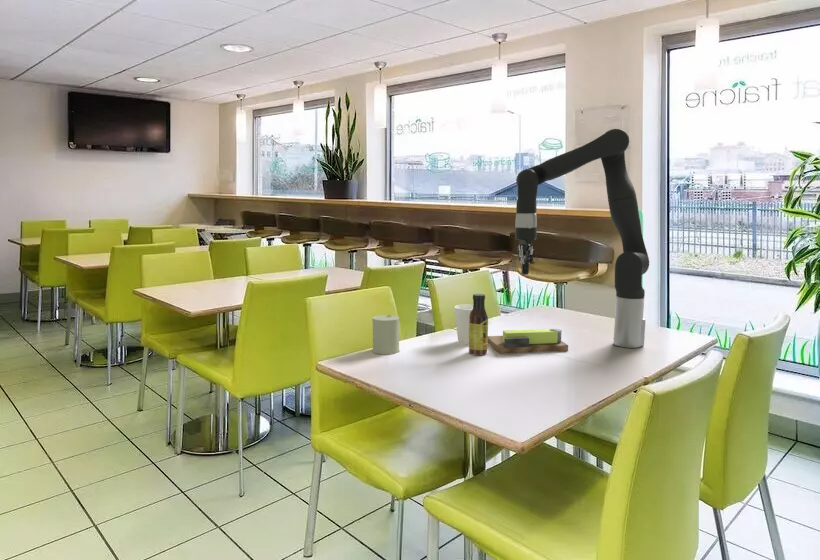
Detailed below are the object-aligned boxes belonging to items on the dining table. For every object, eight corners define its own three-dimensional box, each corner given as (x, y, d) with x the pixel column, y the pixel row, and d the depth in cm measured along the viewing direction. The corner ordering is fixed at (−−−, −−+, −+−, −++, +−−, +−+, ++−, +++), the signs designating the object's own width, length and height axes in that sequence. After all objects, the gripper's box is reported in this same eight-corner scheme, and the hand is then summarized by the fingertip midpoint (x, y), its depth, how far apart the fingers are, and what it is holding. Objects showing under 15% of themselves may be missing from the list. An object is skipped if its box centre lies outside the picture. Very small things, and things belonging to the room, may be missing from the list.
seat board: (549, 339, 209) (549, 325, 208) (568, 350, 193) (568, 336, 193) (486, 341, 205) (486, 328, 204) (500, 353, 190) (500, 339, 189)
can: (404, 349, 196) (404, 314, 194) (391, 355, 187) (391, 320, 186) (380, 345, 200) (380, 312, 198) (367, 352, 191) (367, 317, 189)
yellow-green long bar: (558, 339, 199) (558, 328, 198) (562, 342, 195) (563, 331, 194) (502, 341, 196) (503, 330, 196) (506, 344, 192) (506, 333, 192)
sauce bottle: (486, 356, 187) (488, 296, 184) (467, 355, 188) (468, 296, 185) (488, 351, 193) (489, 293, 190) (469, 350, 194) (470, 292, 191)
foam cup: (450, 344, 202) (450, 308, 200) (458, 338, 210) (458, 303, 208) (476, 347, 198) (477, 310, 196) (483, 340, 206) (484, 305, 205)
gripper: (509, 225, 209) (509, 272, 212) (522, 227, 196) (521, 277, 199) (529, 225, 211) (528, 271, 213) (543, 226, 198) (541, 276, 200)
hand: (525, 274), depth 206 cm, fingers closed
